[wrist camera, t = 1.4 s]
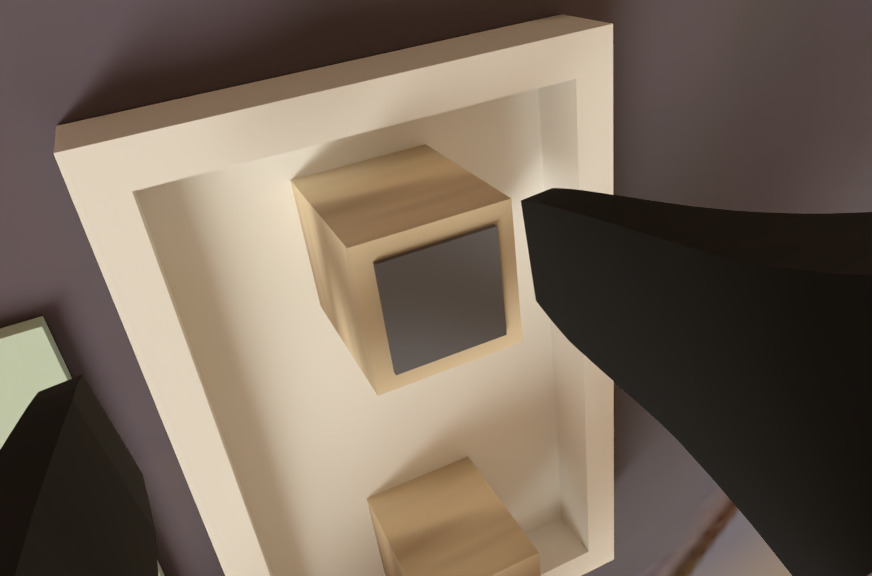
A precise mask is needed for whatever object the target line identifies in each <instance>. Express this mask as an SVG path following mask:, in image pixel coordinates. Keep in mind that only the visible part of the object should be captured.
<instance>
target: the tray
mask: <svg viewBox="0 0 872 576" xmlns="http://www.w3.org/2000/svg"><path fill="white" fill-rule="evenodd" d="M424 144H426V145H427V146H429V147H431V148H432V149H434V150H435V151H437V152H439V153H440V154H442V155H443V156H445V157H446V158H448V159H450V160H451V161H453V162H454V163H456V164H458V165H459V166H461V167H462V168H464V169H465V170H467V171H469V172H470V173H472V174H473V175H475V176H477V177H478V178H480V179H481V180H483V181H485V182H486V183H488V184H489V185H491V186H492V187H494V188H496V189H497V190H499V191H500V192H502V193H504V194H505V195H507V196H508V197H510V198H511V200H512V213H513V226H514V239H515V252H516V265H517V277H518V290H519V303H520V316H521V329H522V342H521V343H518V344H515V345H513V346H510V347H507V348H505V349H502V350H499V351H497V352H494V353H491V354H489V355H486V356H483V357H481V358H478V359H475V360H473V361H470V362H467V363H465V364H462V365H459V366H457V367H454V368H451V369H449V370H446V371H443V372H441V373H438V374H435V375H432V376H430V377H427V378H424V379H422V380H419V381H416V382H414V383H411V384H408V385H406V386H403V387H400V388H398V389H395V390H392V391H390V392H387V393H384V394H382V395H379V396H378V395H377V394H376V392H375V391H374V389H373V388H372V386H371V384H370V383H369V381H368V380H367V378H366V377H365V375H364V373H363V372H362V370H361V369H360V367H359V366H358V364H357V362H356V361H355V359H354V358H353V356H352V355H351V353H350V351H349V350H348V348H347V347H346V345H345V344H344V342H343V341H342V339H341V337H340V336H339V334H338V333H337V331H336V330H335V328H334V326H333V325H332V323H331V322H330V320H329V319H328V317H327V315H326V314H325V312H324V311H323V309H322V308H321V306H320V302H319V298H318V293H317V289H316V285H315V281H314V277H313V273H312V268H311V264H310V260H309V256H308V252H307V248H306V243H305V239H304V235H303V231H302V227H301V223H300V218H299V214H298V210H297V206H296V202H295V198H294V193H293V189H292V185H291V181H290V180H293V179H297V178H301V177H304V176H308V175H312V174H316V173H319V172H323V171H327V170H331V169H334V168H338V167H342V166H346V165H349V164H353V163H357V162H361V161H364V160H368V159H372V158H375V157H379V156H383V155H387V154H390V153H394V152H398V151H402V150H405V149H409V148H413V147H417V146H420V145H424ZM54 156H55V158H56V161H57V163H58V166H59V168H60V171H61V173H62V175H63V178H64V180H65V183H66V185H67V188H68V190H69V193H70V195H71V198H72V200H73V203H74V205H75V207H76V210H77V212H78V215H79V217H80V220H81V222H82V225H83V227H84V230H85V232H86V235H87V237H88V239H89V242H90V244H91V247H92V249H93V252H94V254H95V257H96V259H97V262H98V264H99V266H100V269H101V271H102V274H103V276H104V279H105V281H106V284H107V286H108V289H109V291H110V294H111V296H112V298H113V301H114V303H115V306H116V308H117V311H118V313H119V316H120V318H121V321H122V323H123V325H124V328H125V330H126V333H127V335H128V338H129V340H130V343H131V345H132V348H133V350H134V353H135V355H136V357H137V360H138V362H139V365H140V367H141V370H142V372H143V375H144V377H145V380H146V382H147V384H148V387H149V389H150V392H151V394H152V397H153V399H154V402H155V404H156V407H157V409H158V412H159V414H160V416H161V419H162V421H163V424H164V426H165V429H166V431H167V434H168V436H169V439H170V441H171V444H172V446H173V448H174V451H175V453H176V456H177V458H178V461H179V463H180V466H181V468H182V471H183V473H184V475H185V478H186V480H187V483H188V485H189V488H190V490H191V493H192V495H193V498H194V500H195V503H196V505H197V507H198V510H199V512H200V515H201V517H202V520H203V522H204V525H205V527H206V530H207V532H208V534H209V537H210V539H211V542H212V544H213V547H214V549H215V552H216V554H217V557H218V559H219V562H220V564H221V566H222V569H223V571H224V574H225V576H386V575H385V573H384V569H383V564H382V560H381V556H380V552H379V548H378V544H377V539H376V535H375V531H374V527H373V523H372V519H371V514H370V510H369V506H368V502H367V498H369V497H371V496H374V495H376V494H379V493H381V492H383V491H386V490H388V489H391V488H393V487H395V486H398V485H400V484H403V483H405V482H407V481H410V480H412V479H414V478H417V477H419V476H422V475H424V474H426V473H429V472H431V471H434V470H436V469H438V468H441V467H443V466H446V465H448V464H450V463H453V462H455V461H458V460H460V459H462V458H465V457H467V456H468V457H469V458H470V460H471V461H472V462H473V464H474V465H475V466H476V468H477V469H478V470H479V472H480V473H481V475H482V476H483V477H484V479H485V480H486V481H487V483H488V484H489V485H490V487H491V488H492V490H493V491H494V492H495V494H496V495H497V496H498V498H499V499H500V500H501V502H502V503H503V505H504V506H505V507H506V509H507V510H508V511H509V513H510V514H511V515H512V517H513V518H514V519H515V521H516V522H517V524H518V525H519V526H520V528H521V529H522V530H523V532H524V533H525V534H526V536H527V537H528V539H529V540H530V541H531V543H532V544H533V545H534V547H535V548H536V549H537V551H538V552H539V560H540V573H541V576H581V575H583V574H585V573H587V572H589V571H591V570H593V569H595V568H597V567H599V566H601V565H603V564H605V563H607V562H609V561H611V560H613V559H614V381H613V380H612V379H611V378H609V377H608V376H607V375H606V374H605V373H604V372H603V371H601V370H600V369H599V368H598V367H597V366H596V365H595V364H594V363H593V362H591V361H590V360H589V359H588V358H587V357H586V356H585V355H584V354H583V353H582V352H580V351H579V350H578V349H577V348H576V347H575V346H574V345H573V344H572V343H571V342H570V341H569V340H568V339H567V338H566V337H565V336H564V335H563V333H562V332H561V331H560V330H559V329H558V328H557V326H556V325H555V324H554V323H553V322H552V320H551V319H550V318H549V317H548V315H547V314H546V313H545V312H544V310H543V309H542V308H541V307H540V305H539V304H538V303H537V302H536V298H535V292H534V285H533V278H532V272H531V265H530V259H529V252H528V245H527V239H526V232H525V226H524V219H523V212H522V206H521V200H523V199H526V198H528V197H531V196H533V195H536V194H538V193H541V192H543V191H546V190H548V189H551V188H565V189H576V190H584V191H591V192H598V193H605V194H611V195H613V24H612V23H607V22H601V21H596V20H591V19H585V18H580V17H574V16H569V15H563V14H560V15H555V16H551V17H546V18H542V19H537V20H533V21H528V22H524V23H519V24H515V25H510V26H506V27H501V28H497V29H492V30H488V31H483V32H479V33H474V34H470V35H465V36H460V37H456V38H451V39H447V40H442V41H438V42H433V43H429V44H424V45H420V46H415V47H411V48H406V49H402V50H397V51H393V52H388V53H384V54H379V55H375V56H370V57H366V58H361V59H356V60H352V61H347V62H343V63H338V64H334V65H329V66H325V67H320V68H316V69H311V70H307V71H302V72H298V73H293V74H289V75H284V76H280V77H275V78H271V79H266V80H262V81H257V82H252V83H248V84H243V85H239V86H234V87H230V88H225V89H221V90H216V91H212V92H207V93H203V94H198V95H194V96H189V97H185V98H180V99H176V100H171V101H167V102H162V103H158V104H153V105H149V106H144V107H139V108H135V109H130V110H126V111H121V112H117V113H112V114H108V115H103V116H99V117H94V118H90V119H85V120H81V121H76V122H72V123H67V124H63V125H58V126H56V134H55V143H54Z"/></svg>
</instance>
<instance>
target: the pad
mask: <svg viewBox="0 0 872 576" xmlns="http://www.w3.org/2000/svg"><path fill="white" fill-rule="evenodd" d="M70 379H72V377H71V375H70V373H69V371H68V369H67V366H66V364H65V362H64V360H63V358H62V356H61V354H60V352H59V349H58V347H57V345H56V343H55V341H54V339H53V337H52V335H51V332H50V330H49V328H48V326H47V324H46V322H45V320H44V317H43V316H41V317H37V318H34V319H31V320H27V321H24V322H20V323H17V324H14V325H10V326H7V327H3V328H0V449H1V448H2V446H3V444H4V443H5V441H6V440H7V438H8V436H9V435H10V433H11V432H12V430H13V429H14V427H15V425H16V424H17V422H18V421H19V419H20V418H21V416H22V414H23V413H24V411H25V410H26V408H27V407H28V405H29V404H30V402H31V401H32V400H33V398H34V397H35V396H36V394H37V393H38V392H39V391H42V390H44V389H47V388H49V387H52V386H54V385H57V384H60V383H62V382H65V381H67V380H70ZM157 563H158V576H165V575H164V573H163V571H162V569H161V567H160V564H159V562H158V560H157Z"/></svg>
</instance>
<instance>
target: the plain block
mask: <svg viewBox="0 0 872 576" xmlns="http://www.w3.org/2000/svg"><path fill="white" fill-rule="evenodd" d="M367 502H368V506H369V510H370V514H371V519H372V523H373V527H374V531H375V535H376V539H377V544H378V548H379V552H380V556H381V560H382V564H383V569H384V573H385V575H386V576H541V573H540V560H539V552H538V551H537V549H536V548H535V547H534V545H533V544H532V543H531V541H530V540H529V539H528V537H527V536H526V534H525V533H524V532H523V530H522V529H521V528H520V526H519V525H518V524H517V522H516V521H515V519H514V518H513V517H512V515H511V514H510V513H509V511H508V510H507V509H506V507H505V506H504V505H503V503H502V502H501V500H500V499H499V498H498V496H497V495H496V494H495V492H494V491H493V490H492V488H491V487H490V485H489V484H488V483H487V481H486V480H485V479H484V477H483V476H482V475H481V473H480V472H479V470H478V469H477V468H476V466H475V465H474V464H473V462H472V461H471V460H470V458H469V457H468V456H467V457H465V458H462V459H460V460H458V461H455V462H453V463H450V464H448V465H446V466H443V467H441V468H438V469H436V470H434V471H431V472H429V473H426V474H424V475H422V476H419V477H417V478H414V479H412V480H410V481H407V482H405V483H403V484H400V485H398V486H395V487H393V488H391V489H388V490H386V491H383V492H381V493H379V494H376V495H374V496H371V497H369V498H367Z"/></svg>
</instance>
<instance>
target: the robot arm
mask: <svg viewBox="0 0 872 576" xmlns="http://www.w3.org/2000/svg"><path fill="white" fill-rule="evenodd" d="M521 206H522V212H523V219H524V226H525V232H526V239H527V245H528V252H529V259H530V265H531V272H532V278H533V285H534V292H535V298H536V302H537V303H538V304H539V305H540V307H541V308H542V309H543V310H544V312H545V313H546V314H547V315H548V317H549V318H550V319H551V320H552V322H553V323H554V324H555V325H556V326H557V328H558V329H559V330H560V331H561V332H562V333H563V335H564V336H565V337H566V338H567V339H568V340H569V341H570V342H571V343H572V344H573V345H574V346H575V347H576V348H577V349H578V350H579V351H580V352H582V353H583V354H584V355H585V356H586V357H587V358H588V359H589V360H590V361H591V362H593V363H594V364H595V365H596V366H597V367H598V368H599V369H600V370H601V371H603V372H604V373H605V374H606V375H607V376H608V377H609V378H611V379H612V380H613V381H614V382H615V383H616V384H617V385H618V386H620V387H621V388H622V389H623V390H624V391H625V392H626V393H628V394H629V395H630V396H631V397H632V398H633V399H634V400H635V401H637V402H638V403H639V404H640V405H641V406H642V407H643V408H644V409H646V410H647V411H648V412H649V413H650V414H651V415H652V416H654V417H655V418H656V419H657V420H658V421H659V422H660V423H661V424H662V425H663V426H664V427H665V428H666V429H667V430H668V431H669V432H670V433H671V434H672V435H673V436H674V437H675V438H676V439H677V440H678V441H679V442H680V443H681V444H682V445H683V446H684V447H685V449H686V450H687V451H688V452H689V453H690V454H691V455H692V456H693V457H694V459H695V460H696V461H697V462H698V463H699V464H700V465H701V466H702V467H703V468H704V470H705V471H706V472H707V473H708V474H709V475H710V476H711V477H712V478H713V480H714V481H715V482H716V483H717V484H718V485H719V487H720V488H721V489H722V490H723V491H724V492H725V494H726V495H727V496H728V497H729V498H730V500H731V501H732V502H733V503H734V504H735V505H736V507H737V508H738V509H739V510H740V511H741V512H742V513H743V515H744V516H745V517H746V518H747V520H749V522H750V523H751V524H752V525H753V527H754V528H755V529H756V530H757V532H758V533H759V534H760V535H761V537H762V538H763V539H764V540H765V542H766V543H767V544H768V545H769V547H770V548H771V549H772V550H773V552H774V553H775V554H776V556H777V557H778V558H779V559H780V561H781V562H782V563H783V564H784V566H785V567H786V568H787V569H788V571H789V572H790V573H791V574H792V576H872V212H865V213H836V214H791V213H763V212H745V211H731V210H722V209H712V208H702V207H693V206H685V205H678V204H670V203H663V202H656V201H650V200H643V199H637V198H630V197H624V196H618V195H611V194H605V193H598V192H591V191H584V190H576V189H565V188H551V189H548V190H546V191H543V192H541V193H538V194H536V195H533V196H531V197H528V198H526V199H523V200H521ZM0 576H158V563H157V549H156V537H155V529H154V524H153V519H152V514H151V509H150V505H149V500H148V496H147V492H146V488H145V483H144V479H143V475H142V472H141V471H140V469H139V467H138V466H137V464H136V463H135V461H134V459H133V458H132V456H131V454H130V453H129V451H128V449H127V448H126V446H125V444H124V443H123V441H122V439H121V438H120V436H119V434H118V433H117V431H116V429H115V428H114V426H113V425H112V423H111V421H110V420H109V418H108V416H107V415H106V413H105V411H104V410H103V408H102V406H101V405H100V403H99V401H98V400H97V398H96V396H95V395H94V393H93V392H92V390H91V388H90V387H89V385H88V383H87V382H86V380H85V378H84V377H83V375H80V376H77V377H75V378H72V379H70V380H67V381H65V382H62V383H60V384H57V385H54V386H52V387H49V388H47V389H44V390H42V391H39V392H38V393H37V394H36V396H35V397H34V398H33V400H32V401H31V402H30V404H29V405H28V407H27V408H26V410H25V411H24V413H23V414H22V416H21V418H20V419H19V421H18V422H17V424H16V425H15V427H14V429H13V430H12V432H11V433H10V435H9V436H8V438H7V440H6V441H5V443H4V444H3V446H2V448H1V449H0Z"/></svg>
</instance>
